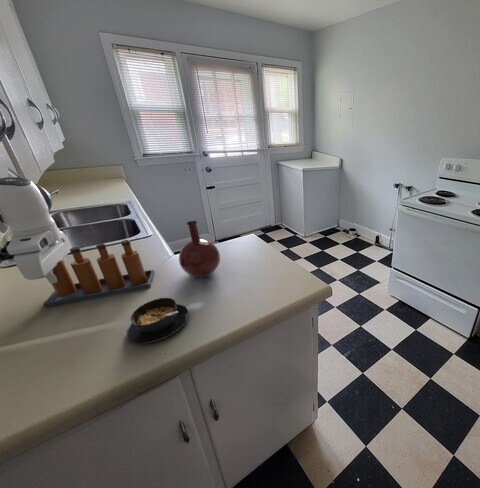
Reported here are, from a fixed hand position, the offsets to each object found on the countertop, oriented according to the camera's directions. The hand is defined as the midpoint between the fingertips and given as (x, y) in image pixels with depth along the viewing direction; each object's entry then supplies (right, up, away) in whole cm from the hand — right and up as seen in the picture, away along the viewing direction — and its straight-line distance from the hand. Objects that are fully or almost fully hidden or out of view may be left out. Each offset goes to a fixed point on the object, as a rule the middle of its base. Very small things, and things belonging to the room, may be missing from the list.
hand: (59, 277), depth 83 cm
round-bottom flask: (+38, -1, +15) cm, 41 cm away
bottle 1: (+6, -5, +5) cm, 10 cm away
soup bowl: (+37, -12, -10) cm, 40 cm away
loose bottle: (0, -5, +2) cm, 6 cm away
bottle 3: (+18, -3, +10) cm, 21 cm away
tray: (+9, -5, +7) cm, 12 cm away
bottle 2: (+12, -4, +7) cm, 15 cm away
